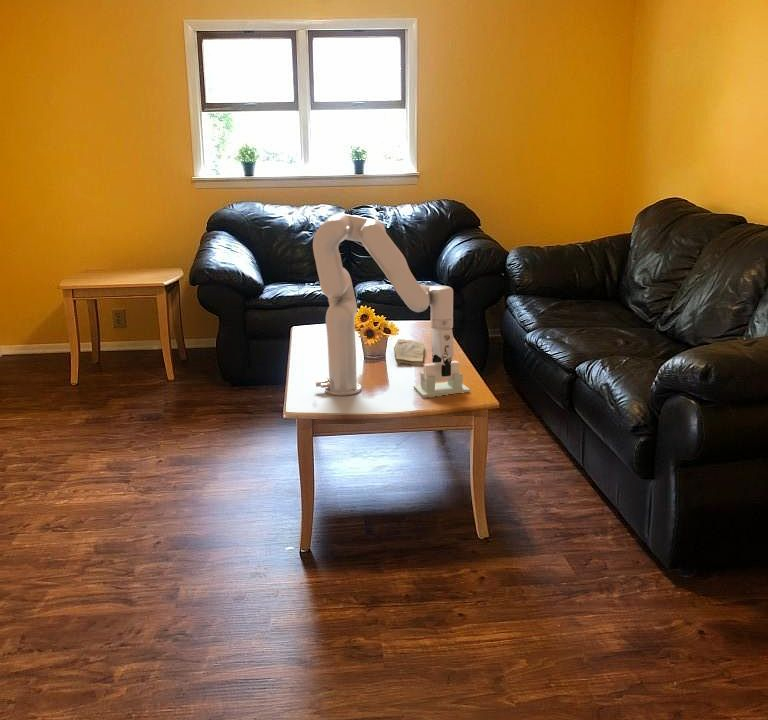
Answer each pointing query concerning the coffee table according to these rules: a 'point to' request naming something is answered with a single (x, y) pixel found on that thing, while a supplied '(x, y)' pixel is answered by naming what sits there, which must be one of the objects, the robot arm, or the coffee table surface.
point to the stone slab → (409, 352)
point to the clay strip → (435, 370)
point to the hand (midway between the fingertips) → (441, 372)
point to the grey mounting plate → (440, 386)
